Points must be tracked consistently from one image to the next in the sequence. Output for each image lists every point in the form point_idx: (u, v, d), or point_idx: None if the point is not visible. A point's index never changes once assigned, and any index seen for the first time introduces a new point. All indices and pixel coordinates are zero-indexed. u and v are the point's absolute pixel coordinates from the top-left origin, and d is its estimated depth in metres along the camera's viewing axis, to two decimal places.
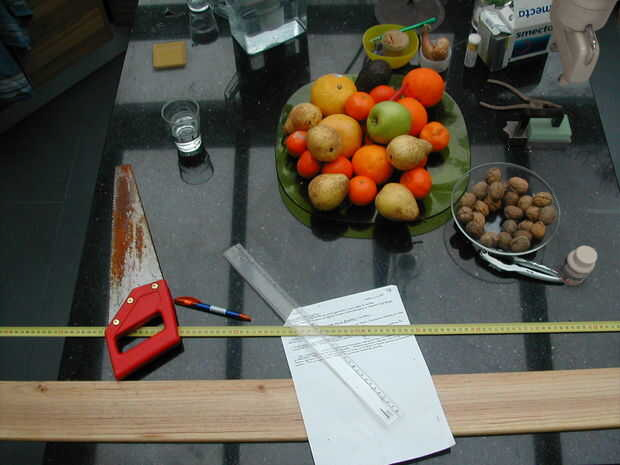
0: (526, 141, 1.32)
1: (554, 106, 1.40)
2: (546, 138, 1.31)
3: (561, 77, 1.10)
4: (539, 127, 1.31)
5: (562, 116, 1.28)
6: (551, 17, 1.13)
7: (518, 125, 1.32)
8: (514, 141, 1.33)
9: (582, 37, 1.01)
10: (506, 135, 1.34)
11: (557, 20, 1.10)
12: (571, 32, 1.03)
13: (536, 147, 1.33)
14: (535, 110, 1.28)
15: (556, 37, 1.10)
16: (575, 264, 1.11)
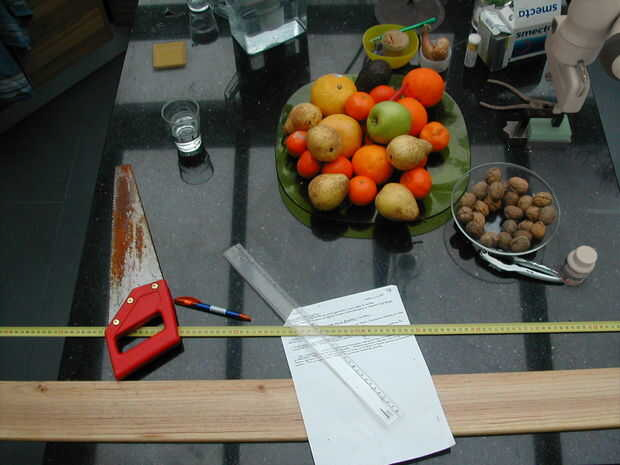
0: (526, 141, 1.32)
1: None
2: (546, 138, 1.31)
3: (555, 106, 1.19)
4: (539, 127, 1.31)
5: (562, 116, 1.28)
6: (546, 49, 1.22)
7: (518, 125, 1.32)
8: (514, 141, 1.33)
9: (575, 71, 1.10)
10: (506, 135, 1.34)
11: (552, 53, 1.19)
12: (564, 66, 1.13)
13: (536, 147, 1.33)
14: (535, 110, 1.28)
15: (551, 68, 1.20)
16: (575, 264, 1.11)
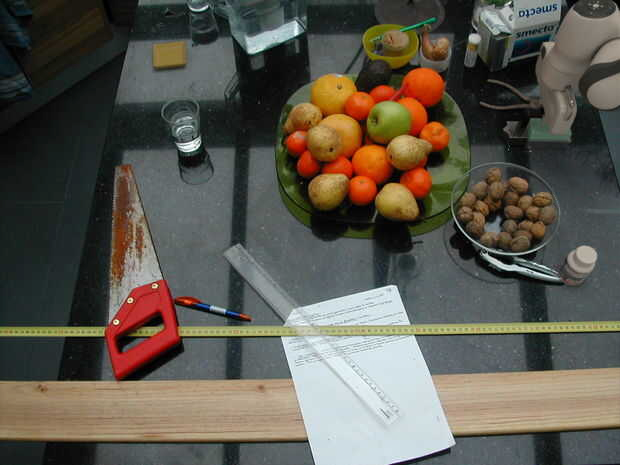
0: (526, 141, 1.32)
1: None
2: (546, 138, 1.31)
3: (543, 117, 1.26)
4: (539, 127, 1.31)
5: None
6: (537, 73, 1.28)
7: (518, 125, 1.32)
8: (514, 141, 1.33)
9: (562, 96, 1.16)
10: (506, 135, 1.34)
11: None
12: (553, 91, 1.18)
13: (536, 147, 1.33)
14: (535, 110, 1.28)
15: (541, 92, 1.25)
16: (575, 264, 1.11)
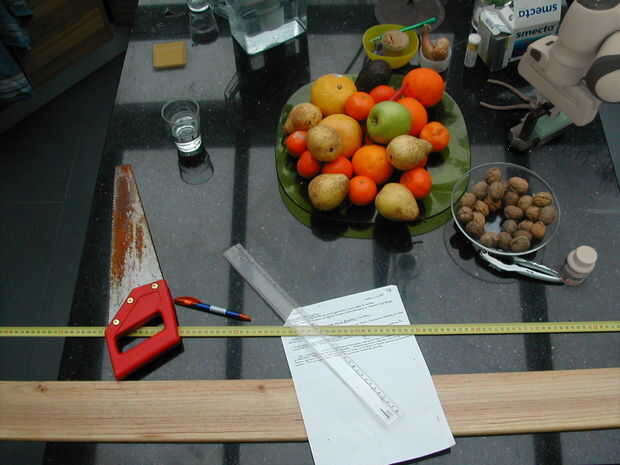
0: (538, 140, 1.30)
1: None
2: (554, 129, 1.30)
3: (552, 112, 1.24)
4: (544, 122, 1.29)
5: None
6: (523, 74, 1.26)
7: (525, 128, 1.29)
8: (527, 145, 1.30)
9: (581, 88, 1.14)
10: (517, 142, 1.30)
11: (536, 77, 1.23)
12: (566, 87, 1.16)
13: (546, 140, 1.32)
14: (540, 109, 1.25)
15: (541, 90, 1.23)
16: (575, 264, 1.11)
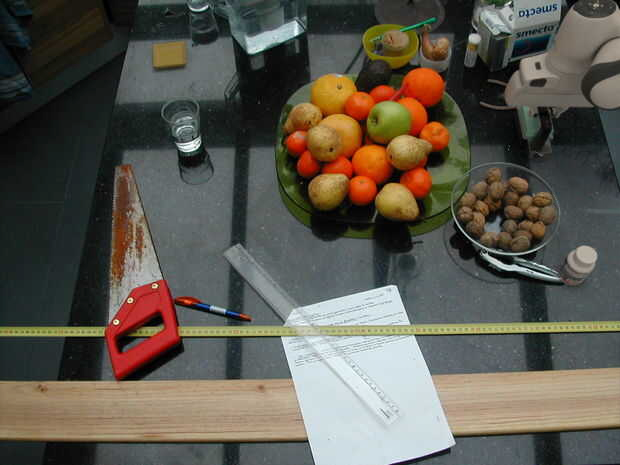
0: (550, 140, 1.32)
1: None
2: None
3: (559, 112, 1.27)
4: None
5: None
6: (517, 103, 1.24)
7: (542, 141, 1.29)
8: None
9: None
10: (544, 155, 1.30)
11: (534, 98, 1.22)
12: None
13: None
14: (547, 118, 1.26)
15: (543, 104, 1.23)
16: (575, 264, 1.11)
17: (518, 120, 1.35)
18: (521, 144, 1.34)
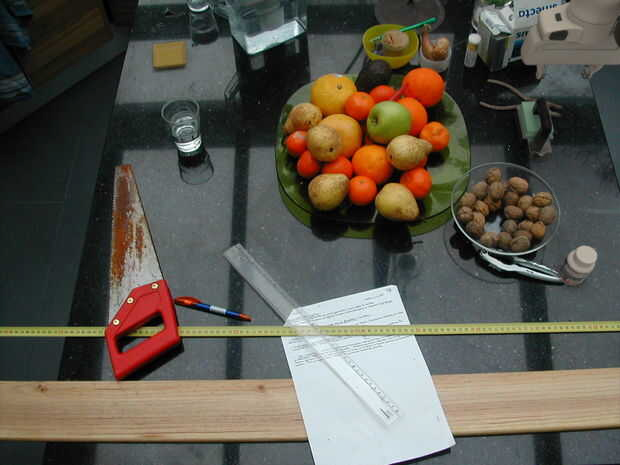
0: (550, 140, 1.32)
1: (554, 106, 1.40)
2: None
3: (592, 72, 1.16)
4: None
5: None
6: (535, 62, 1.13)
7: (542, 141, 1.29)
8: None
9: None
10: (544, 155, 1.30)
11: (553, 55, 1.12)
12: None
13: None
14: (547, 118, 1.26)
15: (563, 62, 1.13)
16: (575, 264, 1.11)
17: (518, 120, 1.35)
18: (521, 144, 1.34)
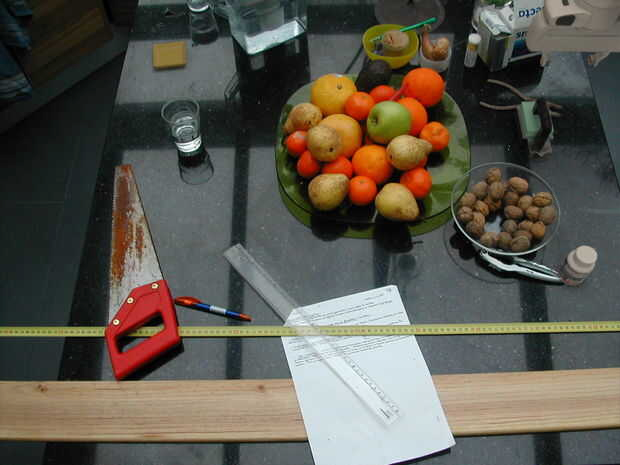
0: (550, 140, 1.32)
1: (554, 106, 1.40)
2: None
3: (598, 60, 1.13)
4: None
5: None
6: (540, 48, 1.10)
7: (542, 141, 1.29)
8: None
9: None
10: (544, 155, 1.30)
11: (559, 41, 1.09)
12: None
13: None
14: (547, 118, 1.26)
15: (569, 49, 1.10)
16: (575, 264, 1.11)
17: (518, 120, 1.35)
18: (521, 144, 1.34)
